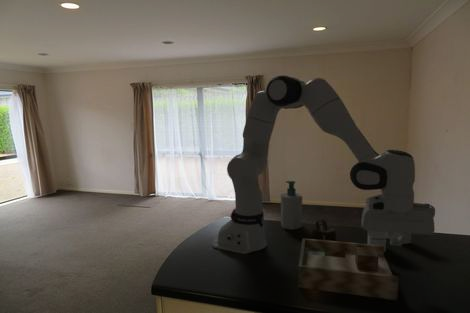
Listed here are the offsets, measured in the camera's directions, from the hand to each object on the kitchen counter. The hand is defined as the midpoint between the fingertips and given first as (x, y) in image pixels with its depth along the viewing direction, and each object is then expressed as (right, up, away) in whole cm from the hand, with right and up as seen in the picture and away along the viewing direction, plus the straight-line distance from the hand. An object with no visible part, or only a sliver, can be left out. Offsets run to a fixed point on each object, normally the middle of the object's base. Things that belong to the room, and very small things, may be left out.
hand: (395, 245), depth 96 cm
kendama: (-12, -8, +37) cm, 40 cm away
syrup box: (+6, -9, +25) cm, 27 cm away
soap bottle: (-24, -6, +51) cm, 57 cm away
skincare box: (+18, -8, +32) cm, 38 cm away
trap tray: (-15, -12, +6) cm, 20 cm away
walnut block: (-8, -8, +3) cm, 12 cm away
